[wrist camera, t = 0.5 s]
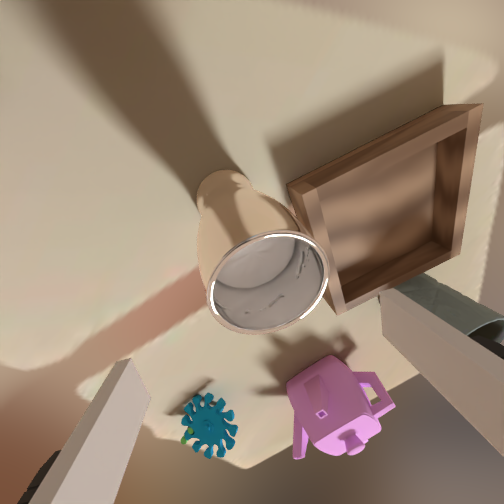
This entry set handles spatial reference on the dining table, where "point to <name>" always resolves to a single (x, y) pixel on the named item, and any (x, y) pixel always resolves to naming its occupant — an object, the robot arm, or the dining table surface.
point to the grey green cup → (454, 307)
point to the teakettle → (335, 407)
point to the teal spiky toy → (209, 425)
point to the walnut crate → (391, 204)
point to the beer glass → (255, 257)
